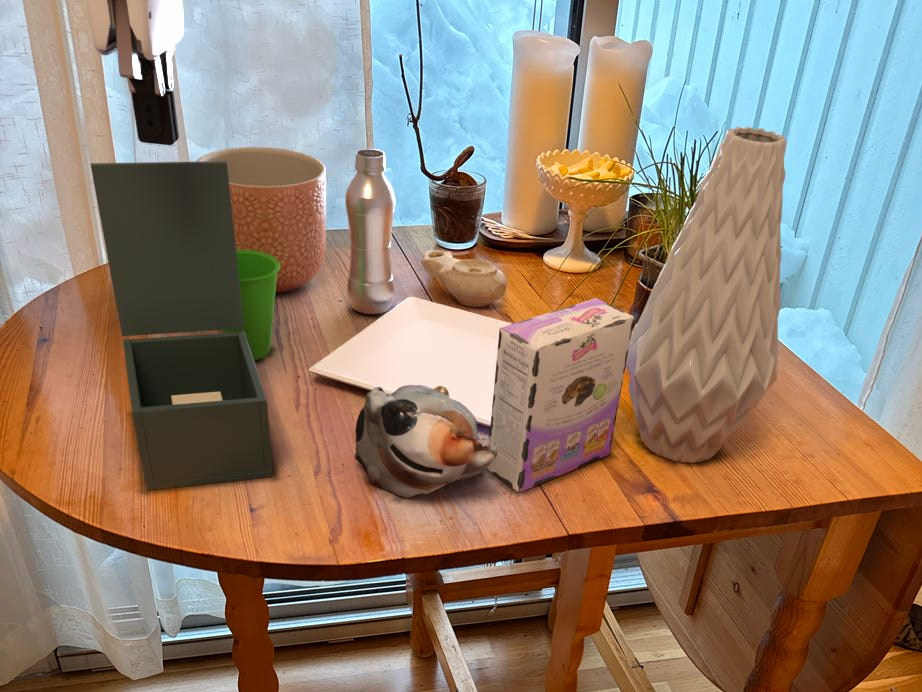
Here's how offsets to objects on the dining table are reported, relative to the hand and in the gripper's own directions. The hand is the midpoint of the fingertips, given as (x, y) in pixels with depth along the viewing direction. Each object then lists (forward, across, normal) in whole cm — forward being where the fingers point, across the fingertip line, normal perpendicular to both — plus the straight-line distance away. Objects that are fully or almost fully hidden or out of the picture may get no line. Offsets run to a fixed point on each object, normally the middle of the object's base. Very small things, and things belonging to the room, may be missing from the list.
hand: (159, 140), depth 85 cm
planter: (+29, -42, -2) cm, 51 cm away
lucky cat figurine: (+29, +5, +26) cm, 39 cm away
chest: (+29, +3, +1) cm, 29 cm away
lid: (+12, -4, -2) cm, 12 cm away
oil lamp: (+29, -43, +26) cm, 58 cm away
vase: (+29, -7, +54) cm, 62 cm away
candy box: (+29, 0, +39) cm, 49 cm away
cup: (+29, -19, +1) cm, 35 cm away
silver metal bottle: (+29, -35, +14) cm, 48 cm away
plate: (+29, -20, +26) cm, 44 cm away
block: (+28, +5, +2) cm, 29 cm away
